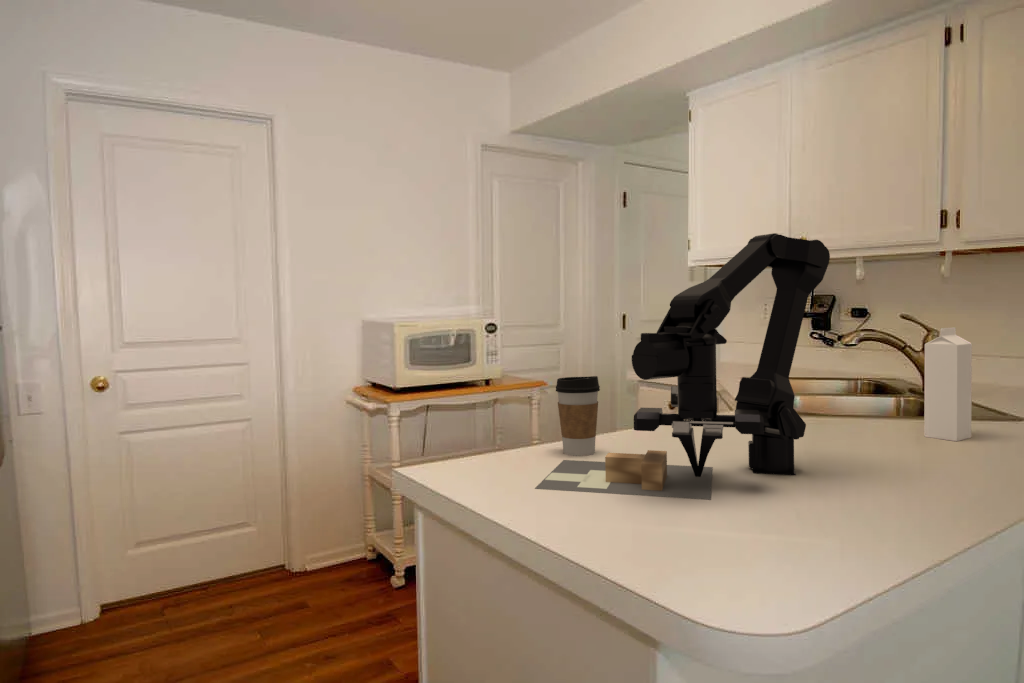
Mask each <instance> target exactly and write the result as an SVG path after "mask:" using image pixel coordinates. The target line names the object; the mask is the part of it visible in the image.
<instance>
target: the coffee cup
mask: <svg viewBox="0 0 1024 683" xmlns="http://www.w3.org/2000/svg"><path fill="white" fill-rule="evenodd" d="M600 388H601V385H600V384H599V377H598V376H597V375H593V376H567V377H566V376H565V377H559V378H557V379H556V385H555V392H557V398H558V399H557V400H558V402H557V407H558V409H557V410H558V416H559V425H560V432H561V433H560V434H561V441H562V450H563V454H564V455H566V456H571V457H587V456H592V455H594V454H595V453H596V435H597V426H598V425H597V423H598V409H599V401H598V394H599V393H598V392H599V391H600V390H601V389H600Z"/></svg>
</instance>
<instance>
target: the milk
mask: <svg viewBox="0 0 1024 683" xmlns="http://www.w3.org/2000/svg"><path fill="white" fill-rule="evenodd" d="M956 331H957V328H956V327H955V326H953V327H942V328H940V331H939V332H940V335H939V336H937V337H935V338H934V339H932V340H930V341H927V342H926V343H924V394H923V395H924V401H923V402H924V403H923V404H924V409H923V411H924V414H923V416H924V419H923V420H924V422H923V423H924V424H923V425H924V431H923V432H924V435H923V436H924V437H925V438H930V439H938V440H945V441H952V442H959V441H963V440H967V439H970V438H972V396H973V395H972V394H973V392H972V391H973V390H972V385H973V384H972V380H973V379H972V378H973V376H972V375H973V373H972V372H973V366H972V362H973V361H972V360H973V344H972V342H970V341H968V340H966V339H965V338H963V337H961V336H959V335H958V334H957V333H956Z"/></svg>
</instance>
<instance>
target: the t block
mask: <svg viewBox="0 0 1024 683" xmlns="http://www.w3.org/2000/svg"><path fill="white" fill-rule="evenodd" d="M604 457H605V458H604V462H605V471H606V482H616V483H633V484H642V490H658V491H662V490H663V487H664V483H665V480H666V477H667V465H668V452H667V450H652V449H647V451H646V453H626V452H625V453H624V452H621V453H620V452H608V453H607V454H605V456H604Z"/></svg>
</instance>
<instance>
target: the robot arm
mask: <svg viewBox="0 0 1024 683" xmlns="http://www.w3.org/2000/svg"><path fill="white" fill-rule="evenodd" d="M830 259H831V254H830V250H829V248H828V247H827V246H825V244H824V242H822V241H821V240H820V239H811V240H808V239H802V238H796V237H790V236H786V235H783V234H779V233H777V232H776V233H773V232H772V233H768V234H760V235H755V236H753V237H752V238H750V239H749V240H748V241H747V244H746V245H745V246H744V247H743V248H742V249H741V250H739V251H738V252H737V253H736V254H735V255H734V256H733V257H732V258H731V259H729V260H728V261H727V262H726V263H725V264H724V265H723V266H721V267H720V268H719V269H718V270H717V271H716V272H714V274H712V275H711V276H710V277H709V278H708V279H706V280H705V281H703V282H700V283H697V284H695V285H693V286H689V287H688V288H686V289H685V290H682V291H681V292H679V293H677V294H676V295H674V297H672V299H671V301H670V302H669V306H670V307H669V309H668V311H667V313H666V315H665V316H664V318H663V320H662V322H661V324H660V325H659V327H658V329H657V330H656V332H643V333H640V341H639V342H638V343H637V344H636V345H635V347H634V350H633V352H632V355H631V365H632V368H633V371H634V373H635V375H636V376H637V377H638V378H639V379H641V380H644V381H647V380H648V381H649V380H658V379H659V380H660V379H668V378H669V379H671V378H677V385H675V386H674V385H671V386H670V406H671V407H673V408H677V413H665V412H663V407H640V408H639V409H637V410H636V412H635V413H634V415H633V431H637V432H638V431H642V432H655V431H656V430H657V429H658V428H659V427H660V426H668V427H669V426H671V428H672V432H671V437H672V438H677V439H679V442H680V444H681V445H682V447H683V449H684V450H685V452H686V454H687V458H688V461H689V463H690V466H692V469H693V471H694V474H695V476H696V477H701V474H702V471H703V468H704V467H705V464H706V463H707V462H706V461H707V459H708V456H709V453H710V451H711V449H712V447H713V445H714V443H715V441H716V440H721V439H723V438H724V437H723V433H724V432H723V430H724V428H735V430H736V431H737V432H739V434H741V435H751V440H749V441H748V442H747V444H748V450H747V451H748V454H747V455H748V468H749V469H751V471H752V473H753V474H757V475H759V474H760V475H776V476H777V475H778V476H796V475H797V473H796V470H795V440H800V438H804V436H805V432H806V428H807V424H806V422H805V421H804V420H803V419H802V417H801V415H800V414H799V413H798V412H797V411H796V410H795V408H794V405H795V396H796V395H795V393H794V392H795V391H794V390H793V387H792V384H791V381H790V373H791V370H792V369H791V368H792V365H793V361H794V356H795V354H796V348H797V345H798V341H799V336H800V332H801V328H802V324H803V320H804V316H805V313H806V312H805V311H806V307H807V303H808V298H809V296H810V294H811V293H812V292H813V291H814V290H815V289H816V288H817V287H818V286H819V285H820V283H822V282H823V280H824V277H825V275H826V272H827V269H828V266H829V264H830ZM767 268H771V271H770V272H771V278H772V280H773V283H774V285H775V288H776V291H775V295H774V299H773V304H772V308H771V311H770V316H769V320H768V323H767V324H768V325H767V328H766V333H765V336H764V341H763V345H762V350H761V353H760V356H759V360H758V364H757V368H756V371H755V372H753V374H752V375H751V376H750V377H745V376H744V377H741V379H740V381H739V384H738V391H737V395H736V396H735V397H734V401H735V402H736V404H735V409H734V414H718V394H717V345H725V344H727V343H728V342H727V339H726V338H725V337H724V336H723V335H722V334H720V333H719V331H718V329H717V328H719V326H720V325H721V324H722V322H723V321H724V320H725V318H727V316H728V314H729V313H730V311H731V307H732V302H733V300H734V299H735V298H736V297H737V296H738V295H739V294H740V293H741V292H742V291H743V290H744V289H745V288H746V287H747V286H748V285H749V284H750V283H751V282H753V281H754V280H755V279H756V278H757V277H758V276H759V275H760V274H761V273H762V272H764V271H765V269H767ZM694 427H702V432H701V441H700V442H701V443H700V449H699V457H698V456H697V448H696V441H695V429H694Z"/></svg>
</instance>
